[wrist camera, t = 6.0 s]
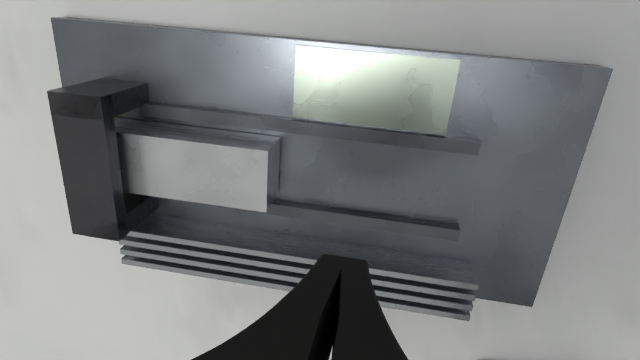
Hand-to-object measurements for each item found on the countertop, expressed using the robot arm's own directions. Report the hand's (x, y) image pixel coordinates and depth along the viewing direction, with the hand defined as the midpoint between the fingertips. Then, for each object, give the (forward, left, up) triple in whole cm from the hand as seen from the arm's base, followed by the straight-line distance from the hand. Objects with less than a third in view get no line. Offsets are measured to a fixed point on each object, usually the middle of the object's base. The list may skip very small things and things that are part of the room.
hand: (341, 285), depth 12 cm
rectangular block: (+9, 0, -9) cm, 13 cm away
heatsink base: (+3, 0, -10) cm, 10 cm away
